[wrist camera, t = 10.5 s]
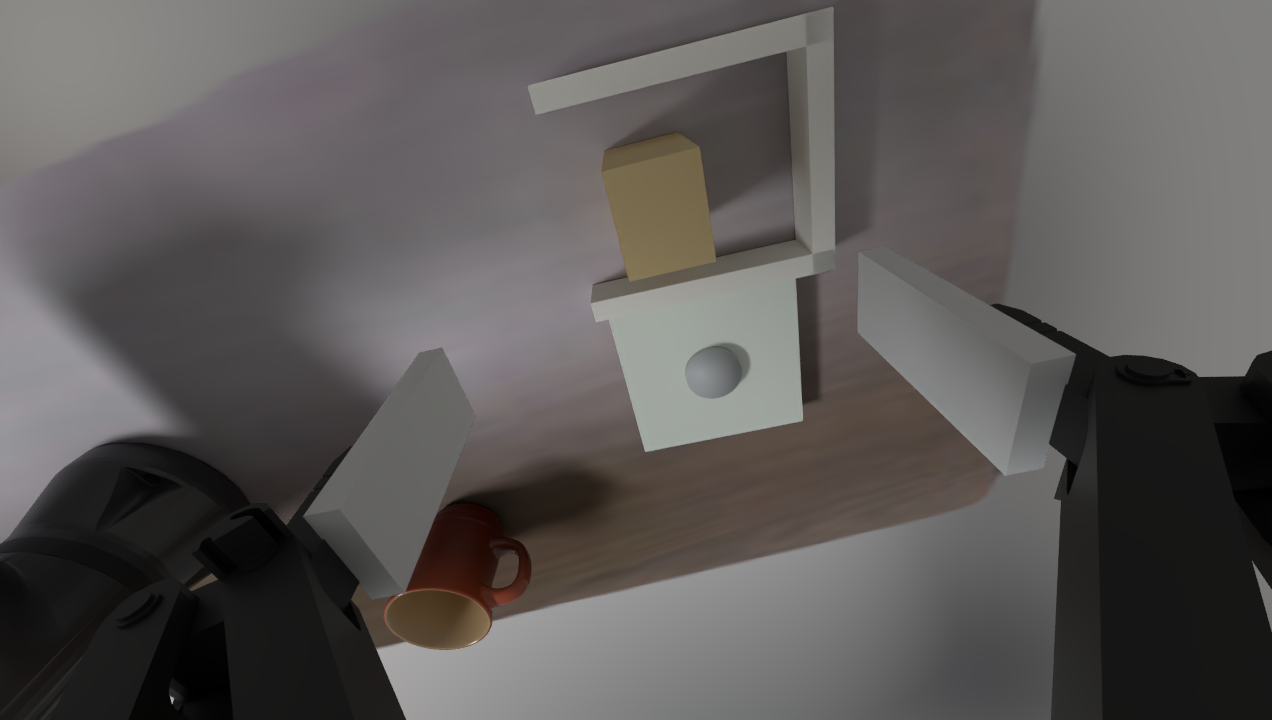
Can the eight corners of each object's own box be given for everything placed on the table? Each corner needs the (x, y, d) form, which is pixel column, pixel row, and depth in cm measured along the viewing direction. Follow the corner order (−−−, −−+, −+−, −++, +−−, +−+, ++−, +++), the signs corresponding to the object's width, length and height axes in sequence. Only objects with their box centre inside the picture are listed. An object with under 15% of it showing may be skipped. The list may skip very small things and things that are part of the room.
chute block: (625, 237, 34) (629, 281, 27) (604, 150, 32) (601, 171, 24) (692, 221, 34) (716, 261, 26) (678, 131, 31) (699, 147, 23)
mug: (449, 558, 51) (414, 657, 42) (409, 503, 47) (362, 600, 38) (555, 535, 50) (542, 632, 41) (524, 476, 46) (503, 571, 37)
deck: (636, 439, 44) (637, 465, 41) (536, 85, 29) (527, 85, 26) (820, 402, 43) (836, 426, 40) (809, 14, 28) (833, 6, 25)
